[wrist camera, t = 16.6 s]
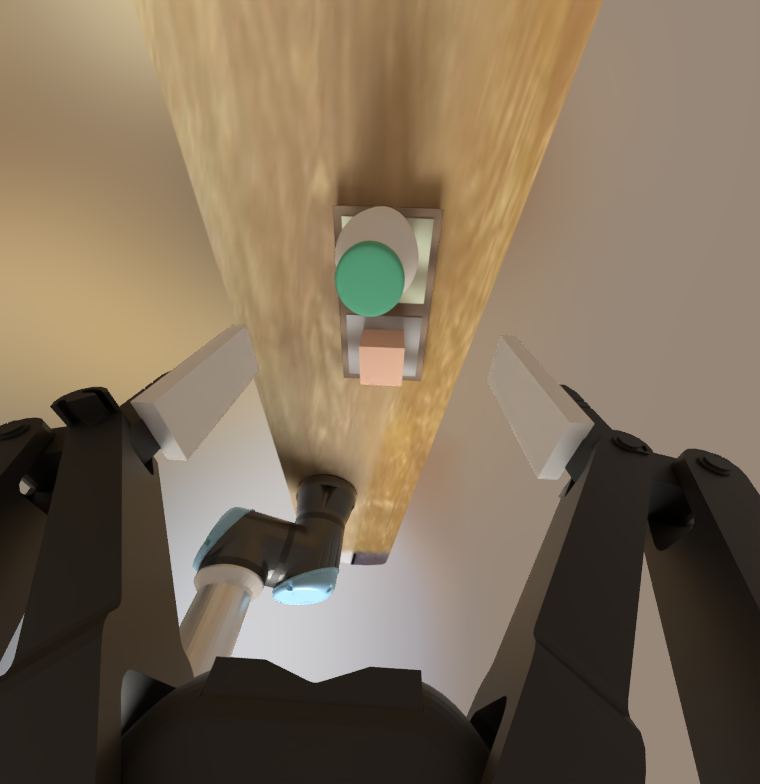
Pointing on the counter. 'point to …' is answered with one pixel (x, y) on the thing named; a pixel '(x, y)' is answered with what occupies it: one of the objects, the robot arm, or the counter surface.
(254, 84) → the counter surface
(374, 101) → the counter surface
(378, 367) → the terracotta block
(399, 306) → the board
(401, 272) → the milk bottle
